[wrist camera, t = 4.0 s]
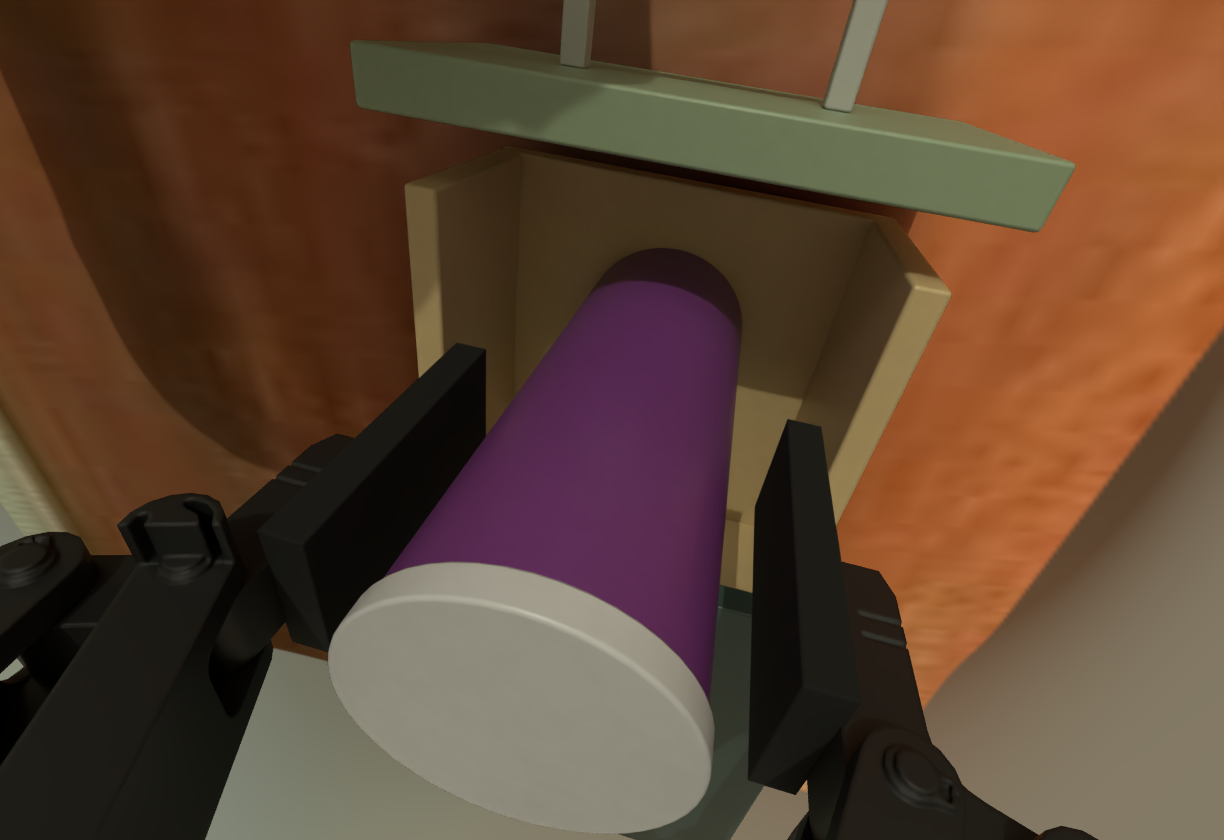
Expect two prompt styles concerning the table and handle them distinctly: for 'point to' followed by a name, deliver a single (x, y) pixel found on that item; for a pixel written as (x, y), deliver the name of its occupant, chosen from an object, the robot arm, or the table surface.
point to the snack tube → (571, 574)
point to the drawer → (696, 225)
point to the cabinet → (723, 731)
